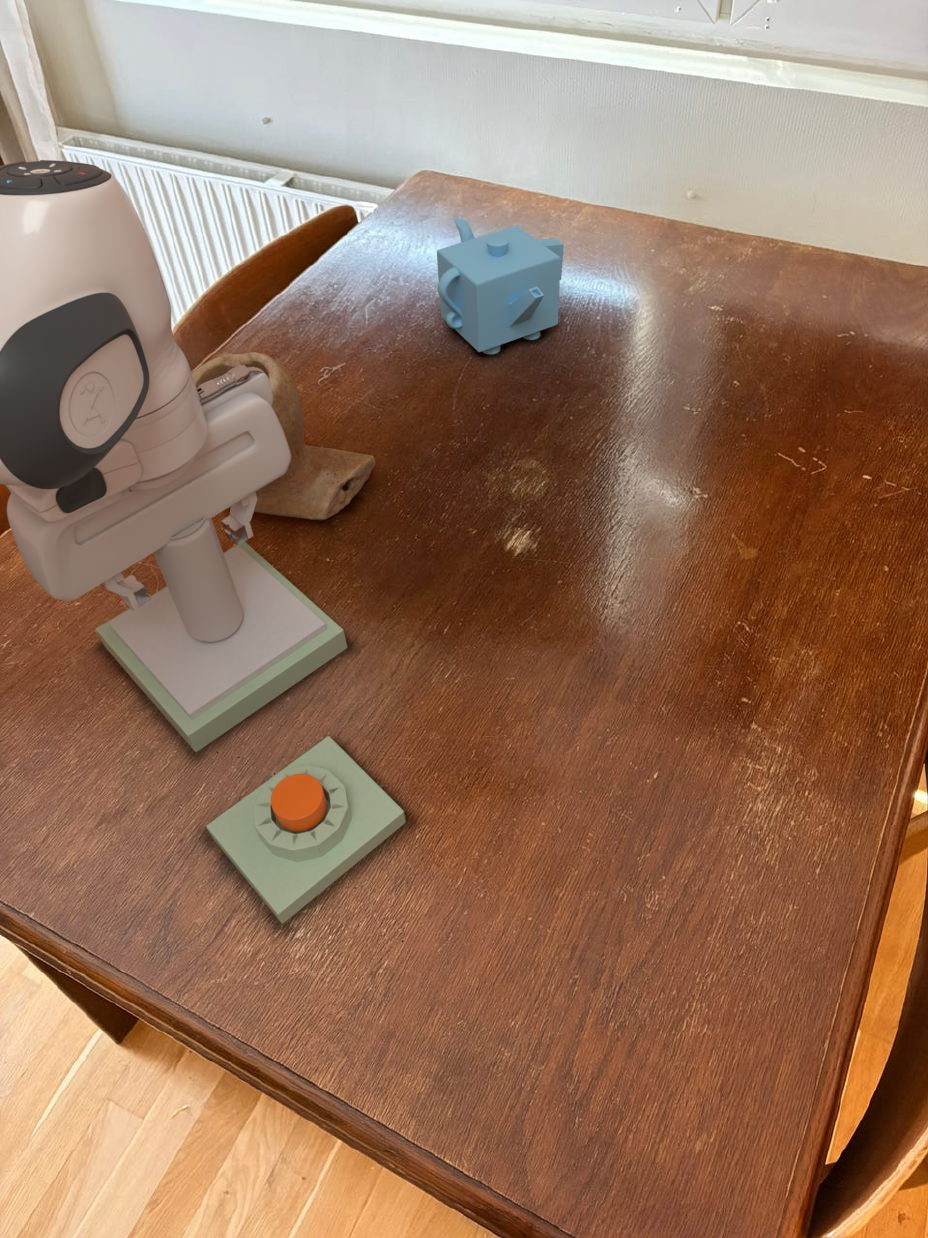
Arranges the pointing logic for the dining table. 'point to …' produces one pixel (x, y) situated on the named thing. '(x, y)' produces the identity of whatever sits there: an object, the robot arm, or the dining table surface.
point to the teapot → (499, 286)
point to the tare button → (299, 802)
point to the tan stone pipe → (297, 450)
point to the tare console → (307, 831)
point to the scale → (224, 651)
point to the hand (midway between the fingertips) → (190, 568)
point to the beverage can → (201, 583)
